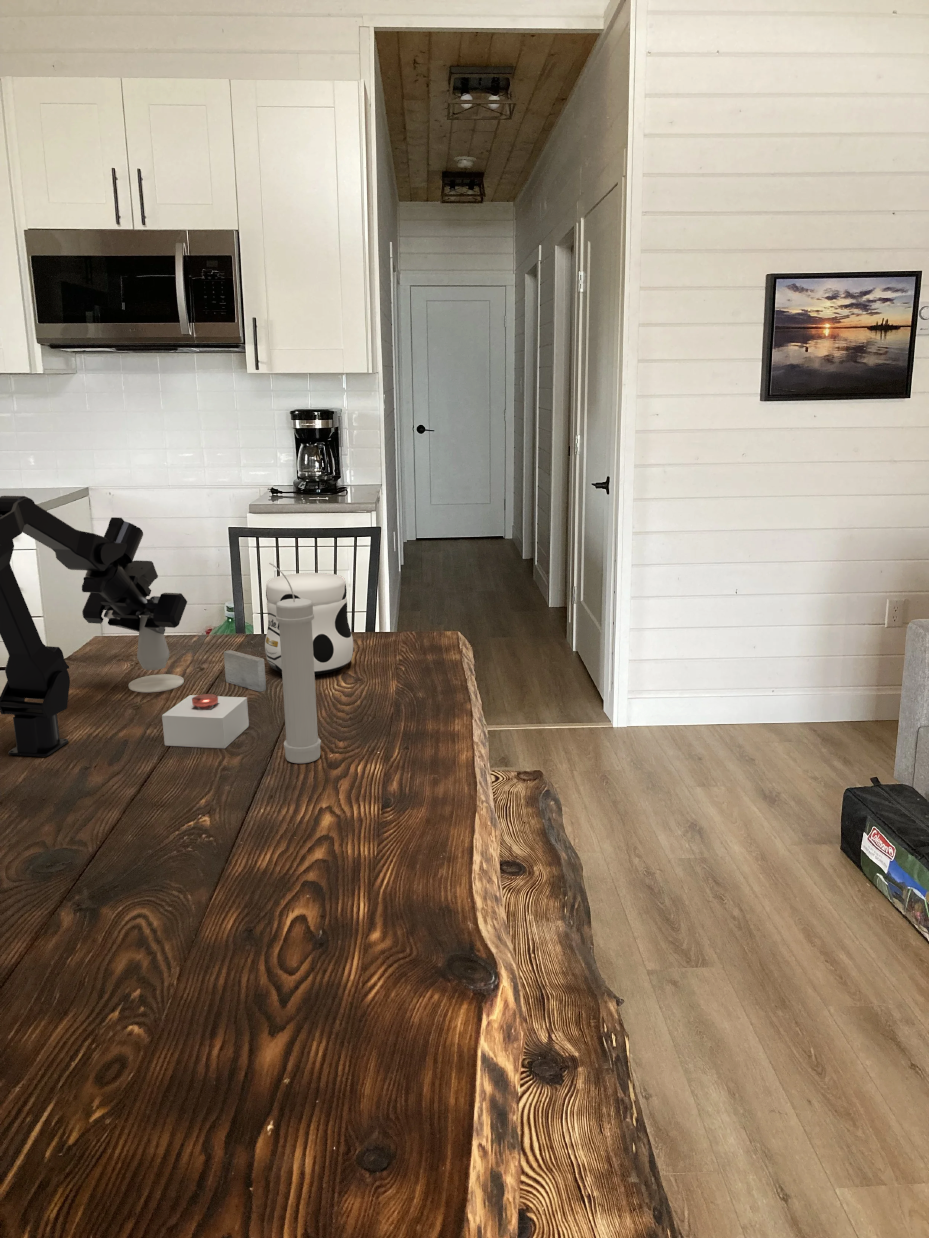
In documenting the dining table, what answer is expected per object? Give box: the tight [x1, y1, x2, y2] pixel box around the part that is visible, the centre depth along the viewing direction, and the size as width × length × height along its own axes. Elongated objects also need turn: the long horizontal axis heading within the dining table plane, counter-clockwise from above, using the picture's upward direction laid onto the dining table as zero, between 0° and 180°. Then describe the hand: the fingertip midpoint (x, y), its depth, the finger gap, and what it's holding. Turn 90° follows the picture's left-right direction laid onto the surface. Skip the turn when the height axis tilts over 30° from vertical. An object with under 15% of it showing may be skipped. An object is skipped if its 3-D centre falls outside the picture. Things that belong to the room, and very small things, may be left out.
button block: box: [161, 694, 250, 749], centre depth 152 cm, size 10×10×5 cm
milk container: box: [264, 572, 354, 676], centre depth 187 cm, size 17×17×18 cm
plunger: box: [192, 693, 218, 710], centre depth 152 cm, size 4×4×5 cm
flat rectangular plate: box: [223, 649, 267, 692], centre depth 177 cm, size 2×10×6 cm, turn 51°
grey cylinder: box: [269, 562, 322, 764], centre depth 140 cm, size 6×6×30 cm
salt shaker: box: [136, 616, 171, 671], centre depth 177 cm, size 6×6×13 cm
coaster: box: [128, 673, 185, 693], centre depth 180 cm, size 10×10×1 cm
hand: (155, 631), depth 178 cm, fingers closed on salt shaker, 3 cm apart
